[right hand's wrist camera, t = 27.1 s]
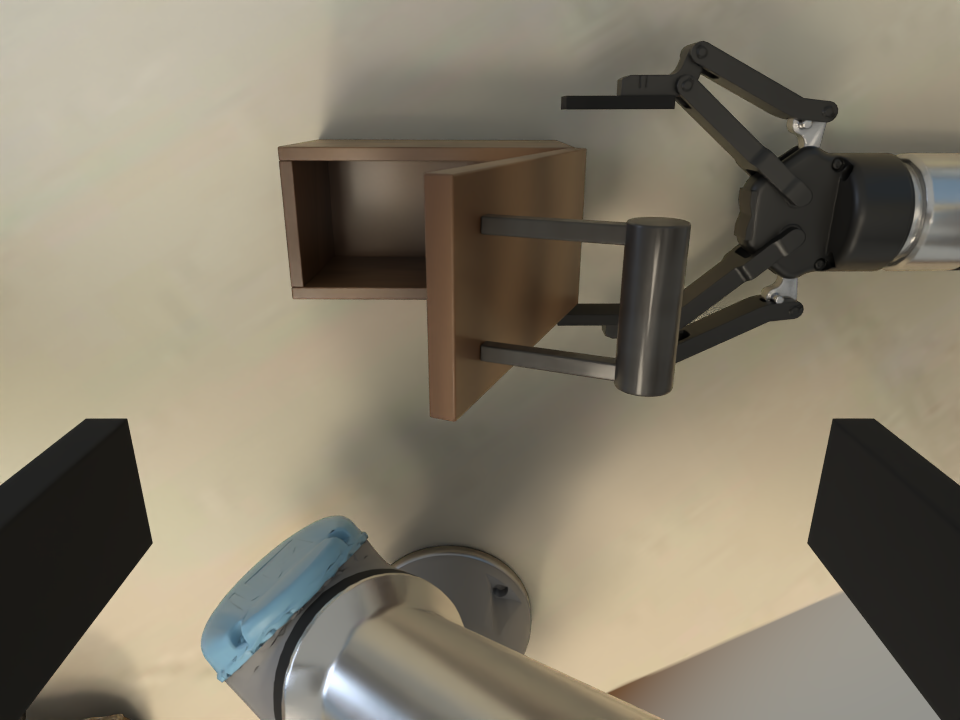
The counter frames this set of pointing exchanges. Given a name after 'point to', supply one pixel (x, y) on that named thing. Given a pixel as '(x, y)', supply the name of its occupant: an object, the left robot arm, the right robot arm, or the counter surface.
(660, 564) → the counter surface
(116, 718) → the fossil
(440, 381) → the brown handled panel
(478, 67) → the counter surface
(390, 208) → the chest
